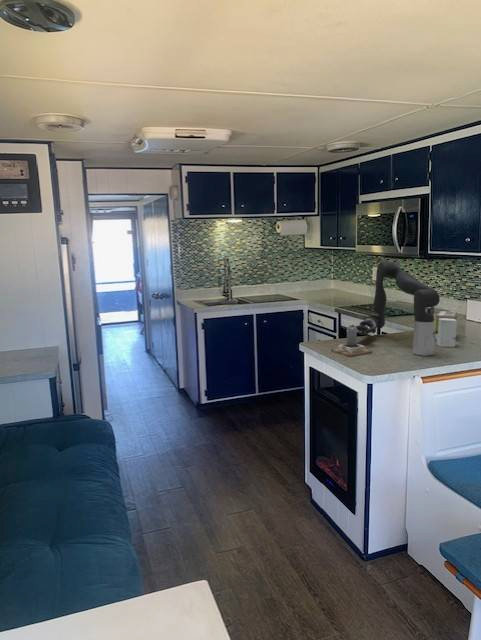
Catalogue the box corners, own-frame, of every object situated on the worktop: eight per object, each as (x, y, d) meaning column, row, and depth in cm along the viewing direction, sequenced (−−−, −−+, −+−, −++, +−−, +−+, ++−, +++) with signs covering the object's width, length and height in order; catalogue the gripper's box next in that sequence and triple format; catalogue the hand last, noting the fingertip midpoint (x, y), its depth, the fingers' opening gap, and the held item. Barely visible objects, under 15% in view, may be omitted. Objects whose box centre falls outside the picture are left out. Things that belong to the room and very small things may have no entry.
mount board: (372, 353, 248) (372, 346, 247) (350, 357, 241) (350, 350, 240) (352, 347, 261) (353, 341, 260) (331, 350, 254) (331, 344, 253)
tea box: (438, 334, 288) (440, 310, 285) (456, 336, 283) (458, 311, 280) (434, 339, 275) (436, 314, 272) (453, 341, 270) (455, 315, 267)
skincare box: (439, 346, 258) (441, 320, 255) (436, 344, 264) (438, 317, 261) (455, 347, 257) (457, 320, 254) (452, 344, 263) (454, 318, 260)
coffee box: (428, 335, 286) (429, 308, 283) (417, 333, 290) (418, 307, 287) (432, 332, 293) (434, 306, 290) (422, 331, 297) (423, 305, 294)
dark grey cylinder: (358, 350, 250) (358, 327, 248) (351, 351, 247) (351, 329, 245) (351, 348, 254) (352, 326, 252) (344, 349, 252) (344, 327, 250)
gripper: (355, 318, 275) (345, 323, 261) (380, 320, 267) (371, 325, 254) (355, 331, 276) (345, 337, 263) (379, 333, 269) (371, 339, 255)
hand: (358, 331), depth 258 cm, fingers open, 8 cm apart
